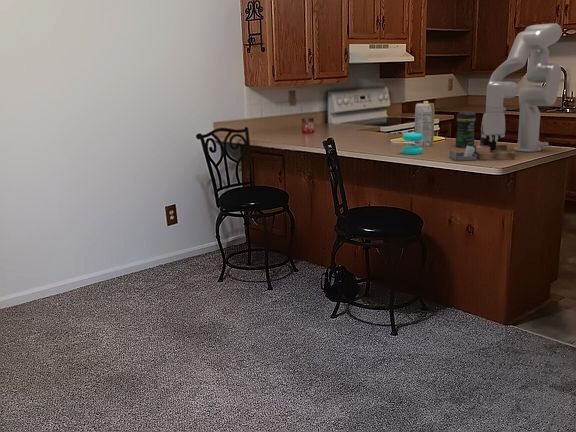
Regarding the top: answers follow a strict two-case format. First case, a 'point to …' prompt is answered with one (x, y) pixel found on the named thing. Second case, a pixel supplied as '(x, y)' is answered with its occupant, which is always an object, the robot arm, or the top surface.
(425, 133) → the juice carton
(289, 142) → the top surface
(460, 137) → the coffee jar
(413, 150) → the donuts
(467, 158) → the box
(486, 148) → the tile
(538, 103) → the robot arm
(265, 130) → the top surface
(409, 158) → the top surface
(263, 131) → the top surface
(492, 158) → the board
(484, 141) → the supplement bottle
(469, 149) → the tile
